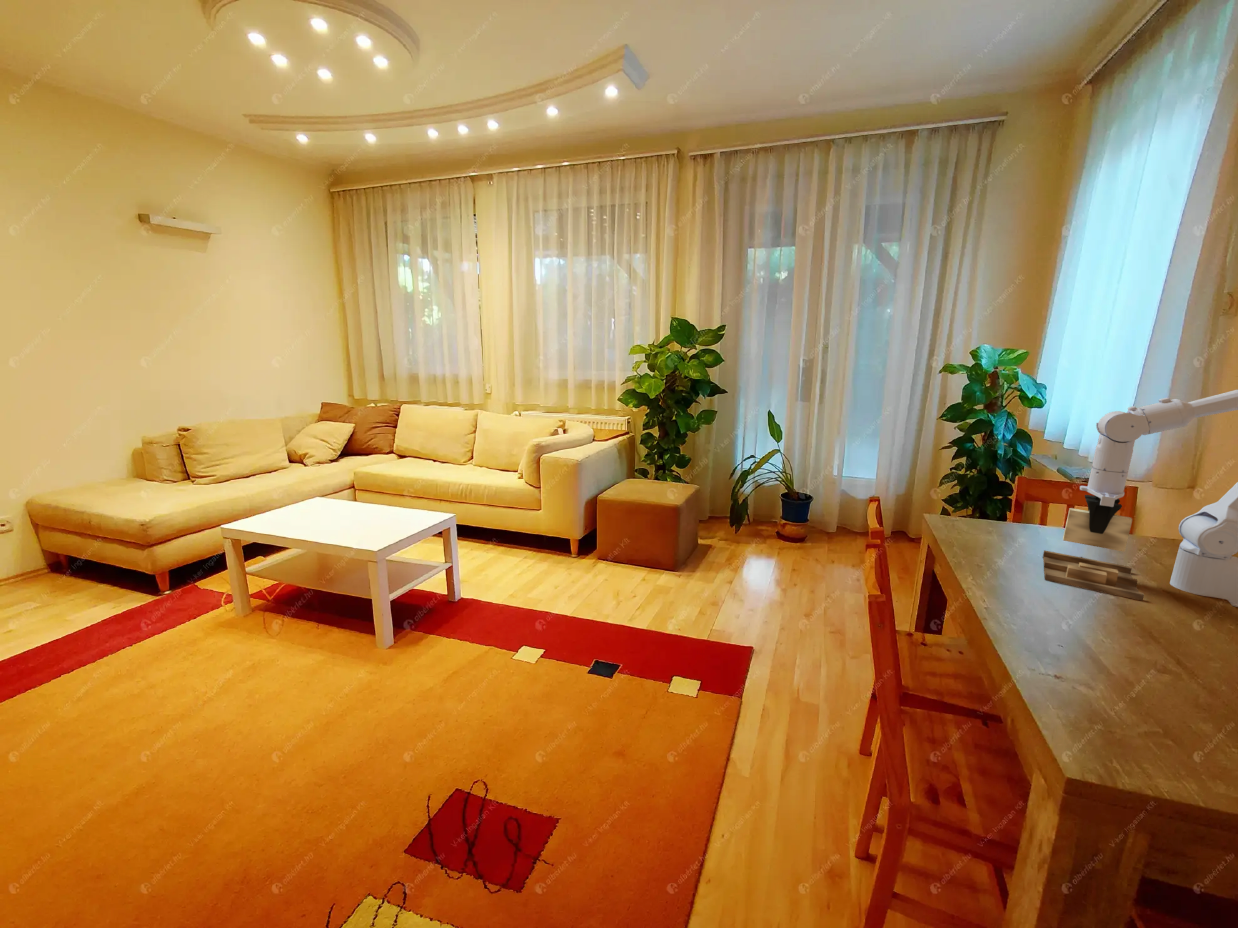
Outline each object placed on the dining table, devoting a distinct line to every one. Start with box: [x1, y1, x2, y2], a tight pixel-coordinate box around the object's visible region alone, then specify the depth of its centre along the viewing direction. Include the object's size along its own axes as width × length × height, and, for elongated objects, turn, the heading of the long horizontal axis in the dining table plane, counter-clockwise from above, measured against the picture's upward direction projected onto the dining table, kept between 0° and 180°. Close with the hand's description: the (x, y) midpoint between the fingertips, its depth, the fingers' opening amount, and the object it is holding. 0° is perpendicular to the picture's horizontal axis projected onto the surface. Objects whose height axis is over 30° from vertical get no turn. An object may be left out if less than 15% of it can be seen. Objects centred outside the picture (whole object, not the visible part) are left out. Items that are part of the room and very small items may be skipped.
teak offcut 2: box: [1078, 562, 1118, 586], centre depth 112 cm, size 6×2×3 cm, turn 53°
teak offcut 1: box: [1066, 565, 1107, 585], centre depth 110 cm, size 6×2×3 cm, turn 53°
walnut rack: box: [1042, 550, 1145, 602], centre depth 115 cm, size 15×17×2 cm
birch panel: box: [1062, 507, 1133, 553], centre depth 115 cm, size 10×2×7 cm, turn 53°
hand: (1095, 531), depth 115 cm, fingers closed on birch panel, 2 cm apart
